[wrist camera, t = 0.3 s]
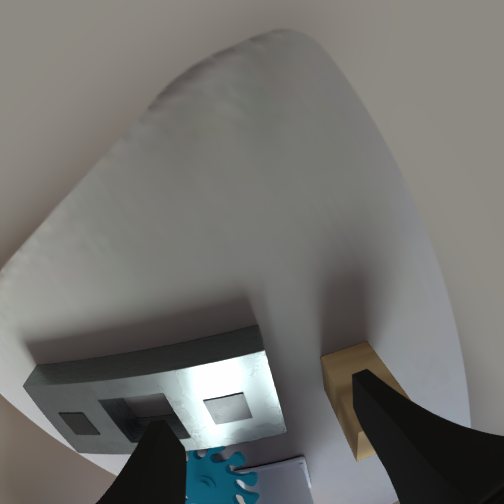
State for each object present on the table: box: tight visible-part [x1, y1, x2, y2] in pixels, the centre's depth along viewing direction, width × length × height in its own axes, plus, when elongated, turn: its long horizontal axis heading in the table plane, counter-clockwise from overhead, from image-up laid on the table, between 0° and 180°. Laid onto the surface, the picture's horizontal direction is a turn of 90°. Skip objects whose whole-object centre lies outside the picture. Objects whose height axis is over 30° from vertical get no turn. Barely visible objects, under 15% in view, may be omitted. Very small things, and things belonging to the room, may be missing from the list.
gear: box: [185, 446, 260, 504], centre depth 23 cm, size 11×6×10 cm
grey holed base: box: [23, 325, 287, 454], centre depth 20 cm, size 9×20×3 cm, turn 103°
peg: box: [321, 341, 410, 461], centre depth 19 cm, size 4×4×8 cm
